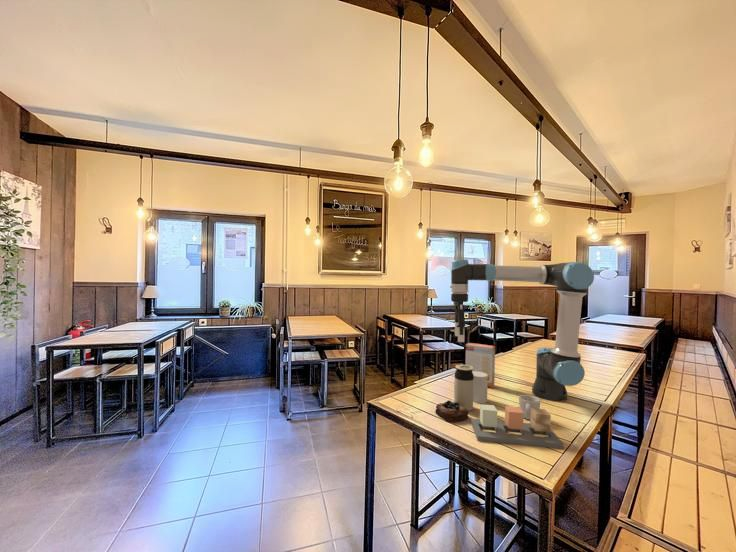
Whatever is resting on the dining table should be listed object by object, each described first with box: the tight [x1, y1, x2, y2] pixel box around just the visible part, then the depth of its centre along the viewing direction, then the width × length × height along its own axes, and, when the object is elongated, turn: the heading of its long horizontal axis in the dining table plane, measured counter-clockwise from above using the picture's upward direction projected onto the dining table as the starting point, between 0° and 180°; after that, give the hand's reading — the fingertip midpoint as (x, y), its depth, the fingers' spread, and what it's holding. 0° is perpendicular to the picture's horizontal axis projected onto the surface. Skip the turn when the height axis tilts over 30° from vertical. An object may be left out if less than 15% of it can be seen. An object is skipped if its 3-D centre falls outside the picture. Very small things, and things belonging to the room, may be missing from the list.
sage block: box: [479, 403, 498, 427], centre depth 120 cm, size 5×5×6 cm
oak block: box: [529, 408, 552, 432], centre depth 117 cm, size 5×5×6 cm
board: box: [470, 418, 564, 449], centre depth 119 cm, size 28×14×2 cm, turn 81°
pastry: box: [434, 400, 469, 424], centre depth 134 cm, size 11×12×6 cm
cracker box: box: [465, 342, 496, 388], centre depth 173 cm, size 14×6×21 cm, turn 55°
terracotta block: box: [504, 405, 525, 430], centre depth 119 cm, size 5×5×6 cm
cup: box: [518, 394, 542, 421], centre depth 132 cm, size 11×8×8 cm
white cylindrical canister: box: [472, 371, 488, 404], centre depth 151 cm, size 8×8×12 cm
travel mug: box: [453, 364, 474, 412], centre depth 142 cm, size 8×8×18 cm
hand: (459, 338), depth 150 cm, fingers open, 13 cm apart
